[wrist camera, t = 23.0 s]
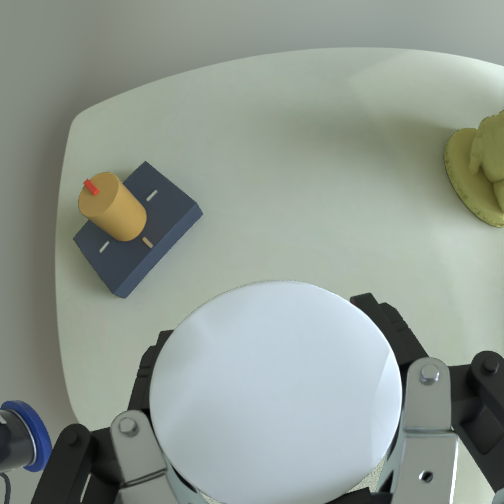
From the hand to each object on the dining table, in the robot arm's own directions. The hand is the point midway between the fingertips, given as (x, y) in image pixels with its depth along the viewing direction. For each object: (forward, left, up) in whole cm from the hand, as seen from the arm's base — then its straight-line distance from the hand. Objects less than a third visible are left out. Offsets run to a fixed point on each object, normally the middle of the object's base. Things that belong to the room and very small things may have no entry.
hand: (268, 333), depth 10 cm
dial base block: (-1, +18, -16) cm, 24 cm away
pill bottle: (-1, -1, -6) cm, 6 cm away
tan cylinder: (-1, +18, -13) cm, 23 cm away
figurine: (+33, -10, -16) cm, 38 cm away
